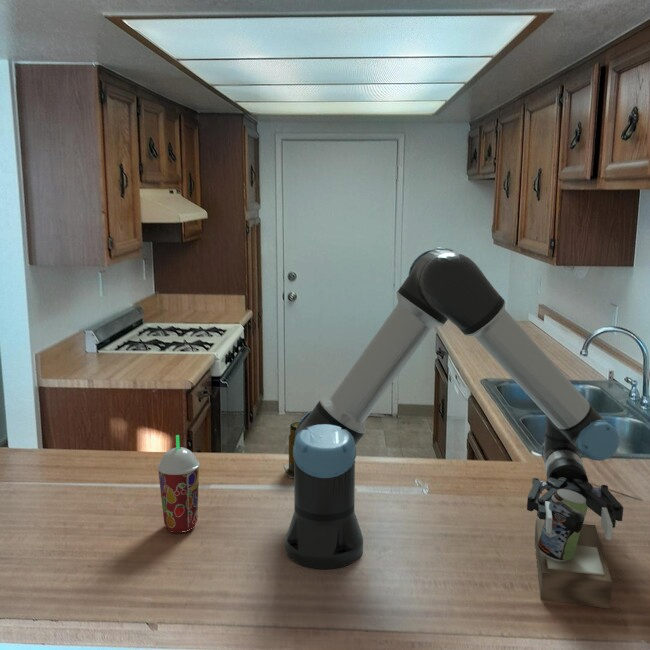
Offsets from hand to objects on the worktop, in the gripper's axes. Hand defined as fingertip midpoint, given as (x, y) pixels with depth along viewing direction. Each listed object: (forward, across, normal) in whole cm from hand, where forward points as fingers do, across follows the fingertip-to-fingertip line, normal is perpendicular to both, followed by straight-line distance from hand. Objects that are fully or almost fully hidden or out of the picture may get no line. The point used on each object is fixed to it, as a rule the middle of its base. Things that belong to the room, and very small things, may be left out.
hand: (579, 528), depth 112 cm
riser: (-9, 0, -13) cm, 16 cm away
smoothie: (-7, +76, -13) cm, 78 cm away
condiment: (-41, +60, -13) cm, 74 cm away
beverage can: (-4, +2, -8) cm, 9 cm away
